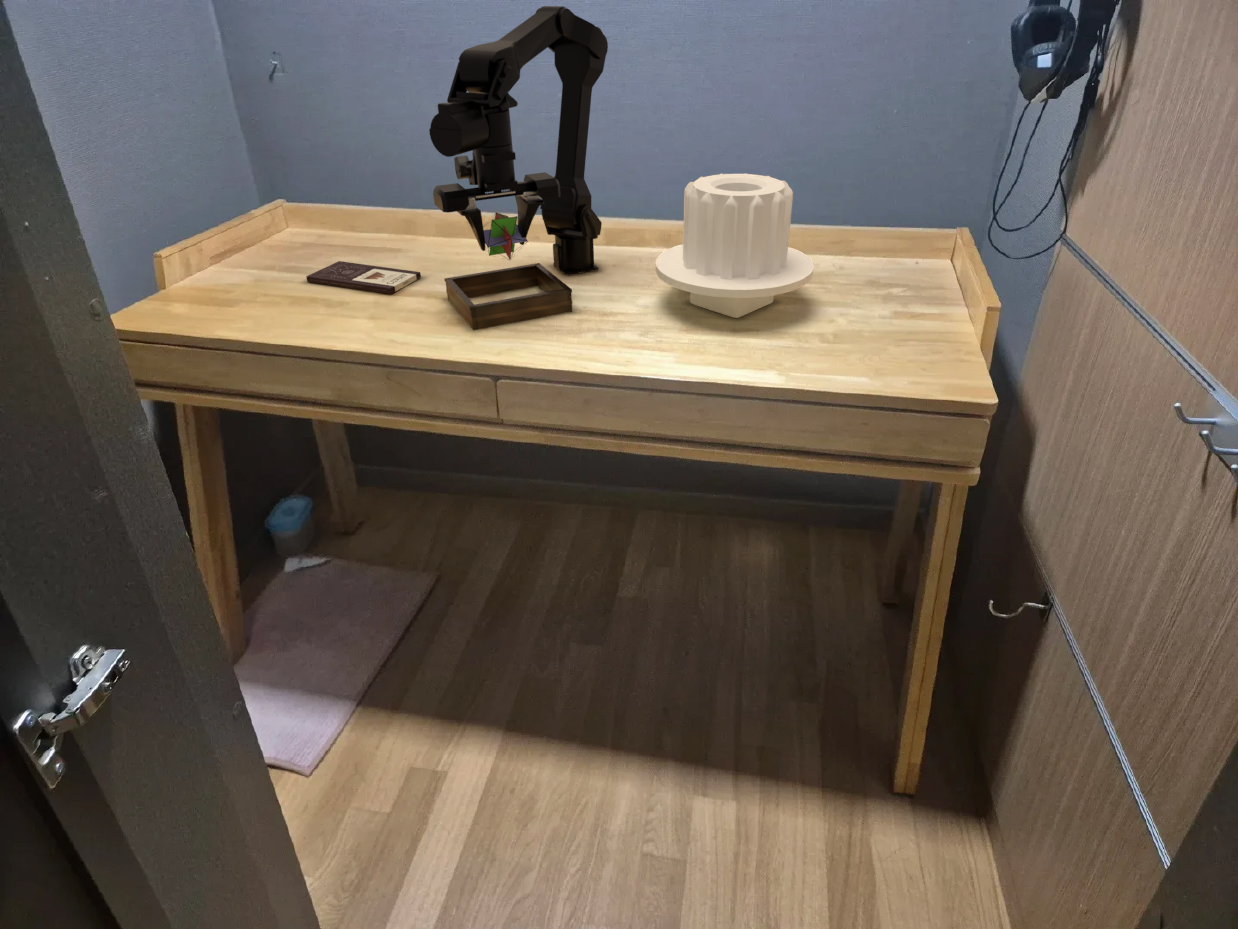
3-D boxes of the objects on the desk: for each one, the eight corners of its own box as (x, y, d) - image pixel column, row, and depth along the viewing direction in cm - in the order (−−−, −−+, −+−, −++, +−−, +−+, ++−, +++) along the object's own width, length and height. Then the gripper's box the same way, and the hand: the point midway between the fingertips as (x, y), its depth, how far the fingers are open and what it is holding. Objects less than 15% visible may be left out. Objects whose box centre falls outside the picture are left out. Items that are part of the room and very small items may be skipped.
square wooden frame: (540, 283, 143) (539, 262, 141) (573, 311, 131) (572, 289, 129) (447, 299, 137) (444, 278, 135) (472, 330, 125) (470, 307, 123)
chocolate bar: (339, 260, 151) (420, 272, 145) (340, 265, 152) (421, 277, 146) (306, 276, 144) (389, 288, 138) (307, 281, 145) (390, 293, 139)
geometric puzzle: (536, 248, 126) (522, 199, 126) (495, 255, 123) (480, 204, 123) (523, 265, 133) (510, 218, 133) (484, 271, 130) (470, 223, 130)
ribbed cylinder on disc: (720, 267, 148) (726, 158, 138) (839, 301, 133) (855, 182, 123) (624, 304, 134) (622, 185, 124) (744, 347, 118) (754, 216, 108)
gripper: (532, 128, 130) (539, 226, 139) (417, 140, 123) (432, 242, 132) (558, 140, 122) (564, 243, 130) (436, 154, 115) (450, 261, 123)
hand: (502, 247), depth 129 cm, fingers closed on geometric puzzle, 6 cm apart
